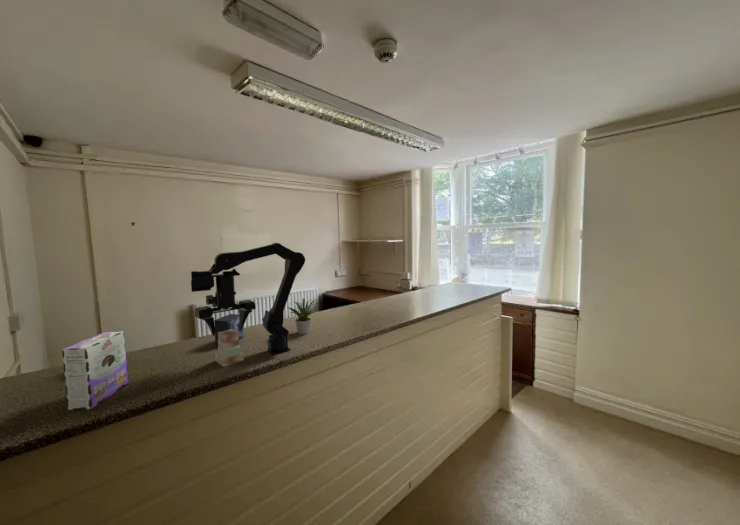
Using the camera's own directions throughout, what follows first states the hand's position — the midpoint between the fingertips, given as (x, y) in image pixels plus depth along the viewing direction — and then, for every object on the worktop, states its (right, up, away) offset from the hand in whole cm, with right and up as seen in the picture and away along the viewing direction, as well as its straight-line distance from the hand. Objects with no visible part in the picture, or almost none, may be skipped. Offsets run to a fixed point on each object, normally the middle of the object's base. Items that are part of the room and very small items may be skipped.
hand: (227, 332), depth 105 cm
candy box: (-25, -13, -22) cm, 36 cm away
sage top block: (0, -8, +1) cm, 8 cm away
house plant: (+20, -8, +33) cm, 39 cm away
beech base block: (0, -11, +1) cm, 11 cm away
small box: (-9, -9, +21) cm, 25 cm away
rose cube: (0, -5, 0) cm, 5 cm away
